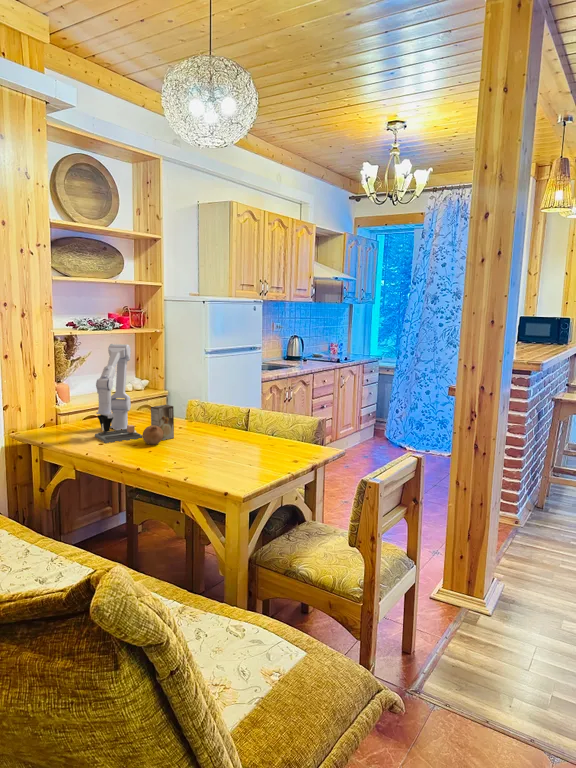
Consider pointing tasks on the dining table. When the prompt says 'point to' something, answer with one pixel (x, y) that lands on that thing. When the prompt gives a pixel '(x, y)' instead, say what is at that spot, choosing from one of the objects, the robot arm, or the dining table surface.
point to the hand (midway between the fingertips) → (105, 430)
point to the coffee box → (163, 420)
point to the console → (117, 436)
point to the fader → (130, 429)
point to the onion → (152, 435)
